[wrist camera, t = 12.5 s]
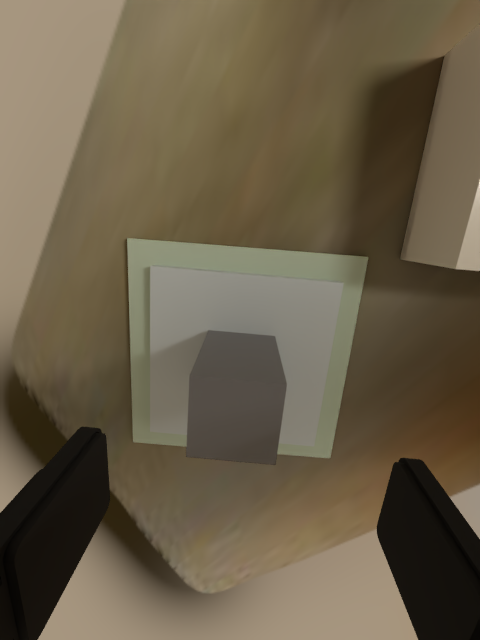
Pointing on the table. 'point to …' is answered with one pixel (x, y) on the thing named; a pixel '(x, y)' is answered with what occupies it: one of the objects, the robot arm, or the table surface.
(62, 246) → the table surface
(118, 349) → the table surface
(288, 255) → the mat
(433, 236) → the open square tray
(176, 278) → the lid
